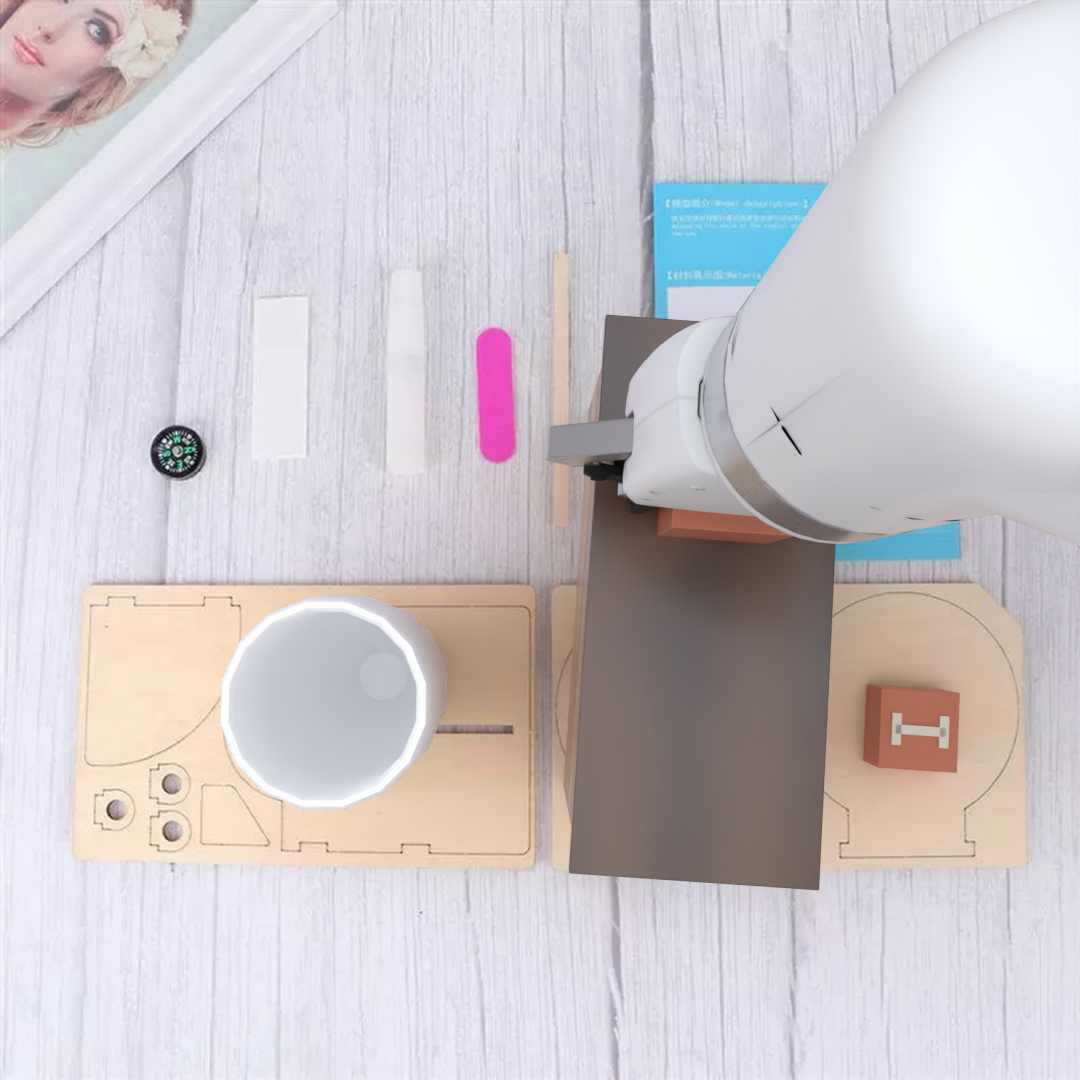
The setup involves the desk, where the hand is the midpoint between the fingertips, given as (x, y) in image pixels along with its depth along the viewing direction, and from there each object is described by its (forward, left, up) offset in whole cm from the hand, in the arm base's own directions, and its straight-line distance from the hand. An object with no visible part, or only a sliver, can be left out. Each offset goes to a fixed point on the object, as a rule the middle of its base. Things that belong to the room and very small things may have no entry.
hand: (718, 484), depth 43 cm
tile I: (-17, +12, -23) cm, 31 cm away
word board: (0, +5, -1) cm, 5 cm away
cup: (+17, +11, -23) cm, 31 cm away
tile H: (0, 0, 0) cm, 0 cm away
